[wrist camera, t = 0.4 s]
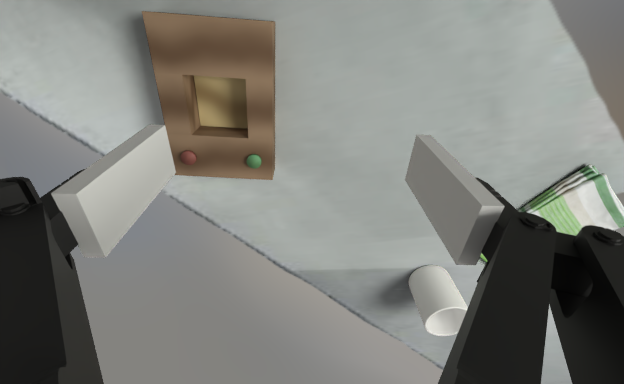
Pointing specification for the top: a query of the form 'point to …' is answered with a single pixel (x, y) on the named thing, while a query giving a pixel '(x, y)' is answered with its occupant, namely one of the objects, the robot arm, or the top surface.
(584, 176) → the dish towel
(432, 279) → the cup
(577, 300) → the robot arm
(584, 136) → the top surface
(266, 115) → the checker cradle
